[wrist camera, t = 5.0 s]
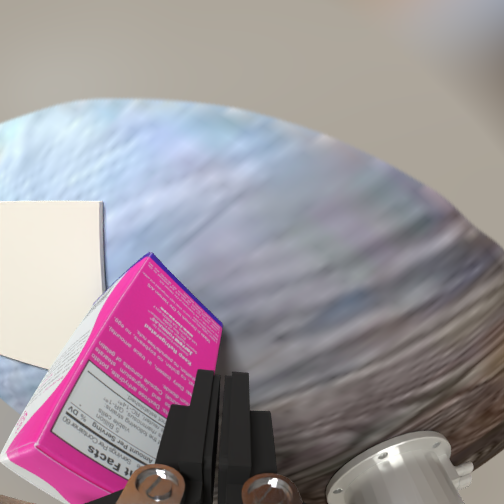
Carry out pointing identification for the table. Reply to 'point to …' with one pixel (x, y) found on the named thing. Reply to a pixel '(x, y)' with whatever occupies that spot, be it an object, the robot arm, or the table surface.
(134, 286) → the supplement box
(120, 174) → the table surface
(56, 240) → the mat
